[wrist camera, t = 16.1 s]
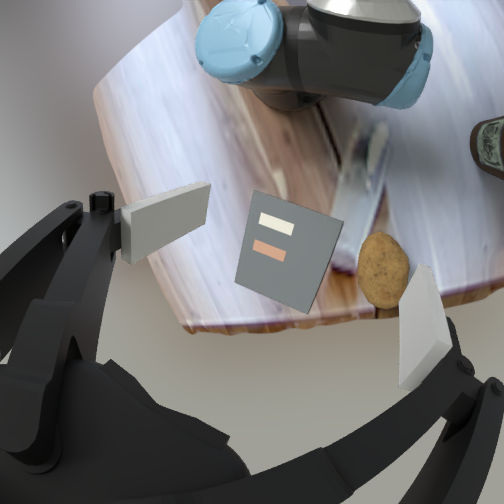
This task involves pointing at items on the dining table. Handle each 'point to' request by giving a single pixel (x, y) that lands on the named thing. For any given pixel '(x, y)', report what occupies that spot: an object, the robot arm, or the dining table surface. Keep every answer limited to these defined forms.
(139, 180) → the dining table surface
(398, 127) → the dining table surface
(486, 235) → the dining table surface
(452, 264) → the dining table surface
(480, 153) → the olive oil
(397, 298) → the potato
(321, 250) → the tile
